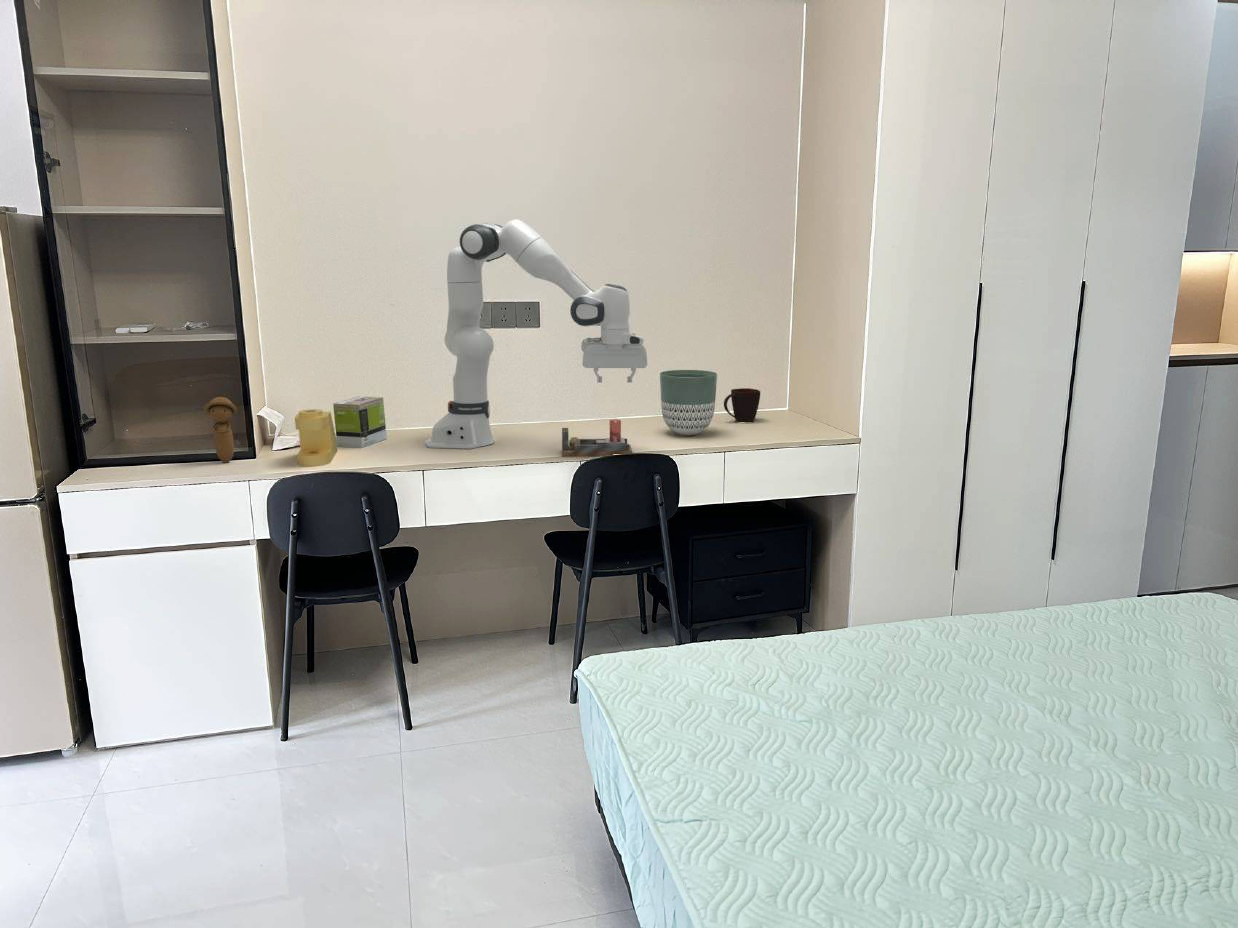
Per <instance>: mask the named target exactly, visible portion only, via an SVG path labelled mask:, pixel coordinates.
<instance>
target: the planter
mask: <svg viewBox="0 0 1238 928" xmlns="http://www.w3.org/2000/svg"><path fill="white" fill-rule="evenodd" d="M659 383H660V384H659V385H660V406H661V414H662V418H663V422H664V423H665V425H666V427H668V428H669V429H670V430H671V431H672V432H674V433H675V434H678V435H681V436H694V435H699V434H700V433H702V432H704V430H706V429H707V428H708V427H709V425H710V424H711V422H712V420H713V418H714V414H715V407H716V398H717V397H716V395H717V385H718V373H717V372H714V371H712V370H711V371H710V370H700V369H673V370H672V369H671V370H665V371H660V373H659Z"/></svg>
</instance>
